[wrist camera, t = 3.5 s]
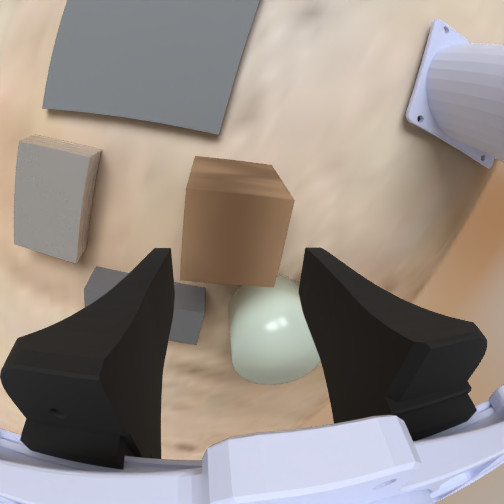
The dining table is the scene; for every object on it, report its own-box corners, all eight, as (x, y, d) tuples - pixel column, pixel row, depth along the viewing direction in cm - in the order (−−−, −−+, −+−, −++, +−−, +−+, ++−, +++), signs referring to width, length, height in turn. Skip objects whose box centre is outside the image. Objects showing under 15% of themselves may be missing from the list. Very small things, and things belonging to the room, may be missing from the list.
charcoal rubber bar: (205, 285, 22) (204, 313, 20) (197, 316, 24) (196, 345, 21) (97, 264, 21) (84, 289, 18) (97, 296, 22) (85, 322, 19)
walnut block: (271, 165, 18) (294, 200, 13) (258, 232, 21) (274, 287, 15) (195, 156, 18) (186, 188, 12) (188, 225, 20) (180, 280, 15)
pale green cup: (318, 282, 23) (339, 328, 19) (291, 339, 26) (304, 386, 22) (239, 268, 22) (246, 317, 17) (220, 331, 25) (223, 380, 20)
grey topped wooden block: (38, 133, 16) (19, 141, 14) (103, 148, 17) (89, 157, 15) (29, 228, 19) (14, 243, 17) (87, 245, 20) (76, 263, 18)
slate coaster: (271, -34, 12) (273, -38, 12) (218, 133, 17) (218, 134, 17) (93, -53, 10) (89, -56, 9) (46, 107, 15) (42, 108, 14)
